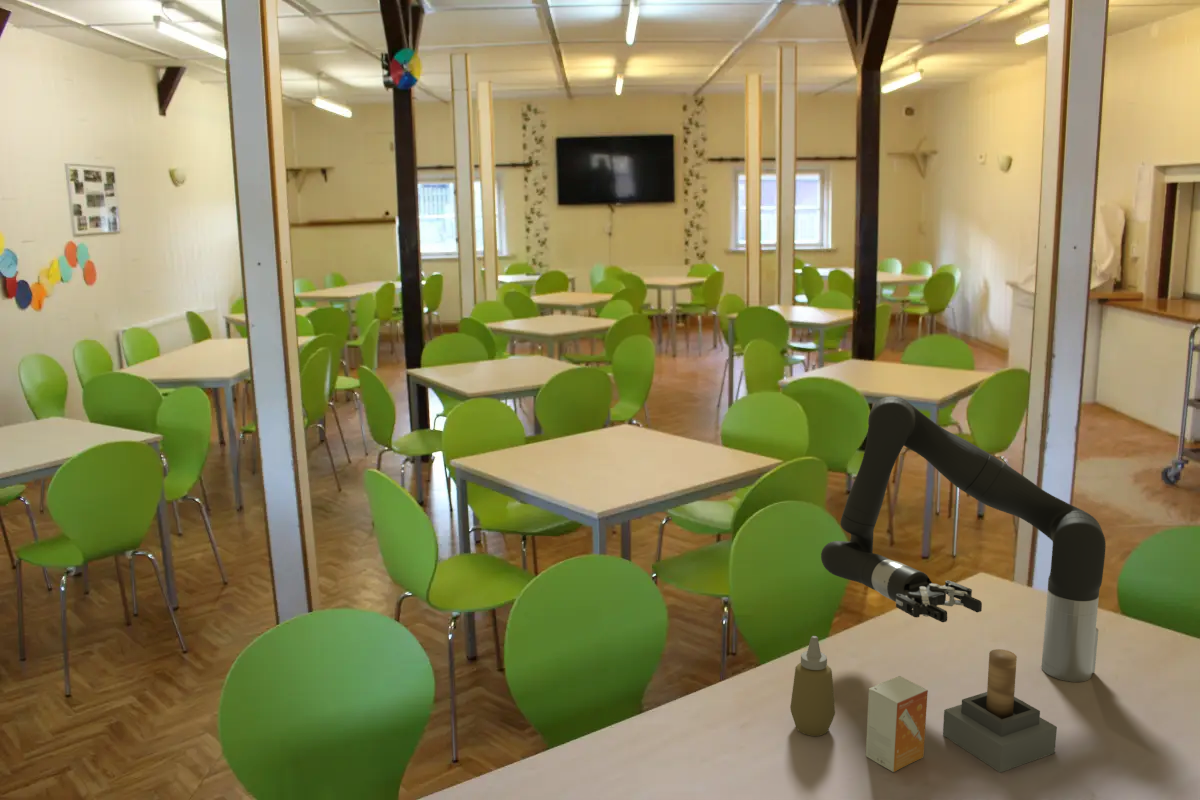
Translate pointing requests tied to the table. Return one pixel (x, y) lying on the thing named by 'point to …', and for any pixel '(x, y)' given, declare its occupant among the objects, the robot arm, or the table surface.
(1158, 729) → the table surface
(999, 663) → the cardboard roll
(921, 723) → the small box
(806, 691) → the squeeze bottle
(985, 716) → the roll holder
